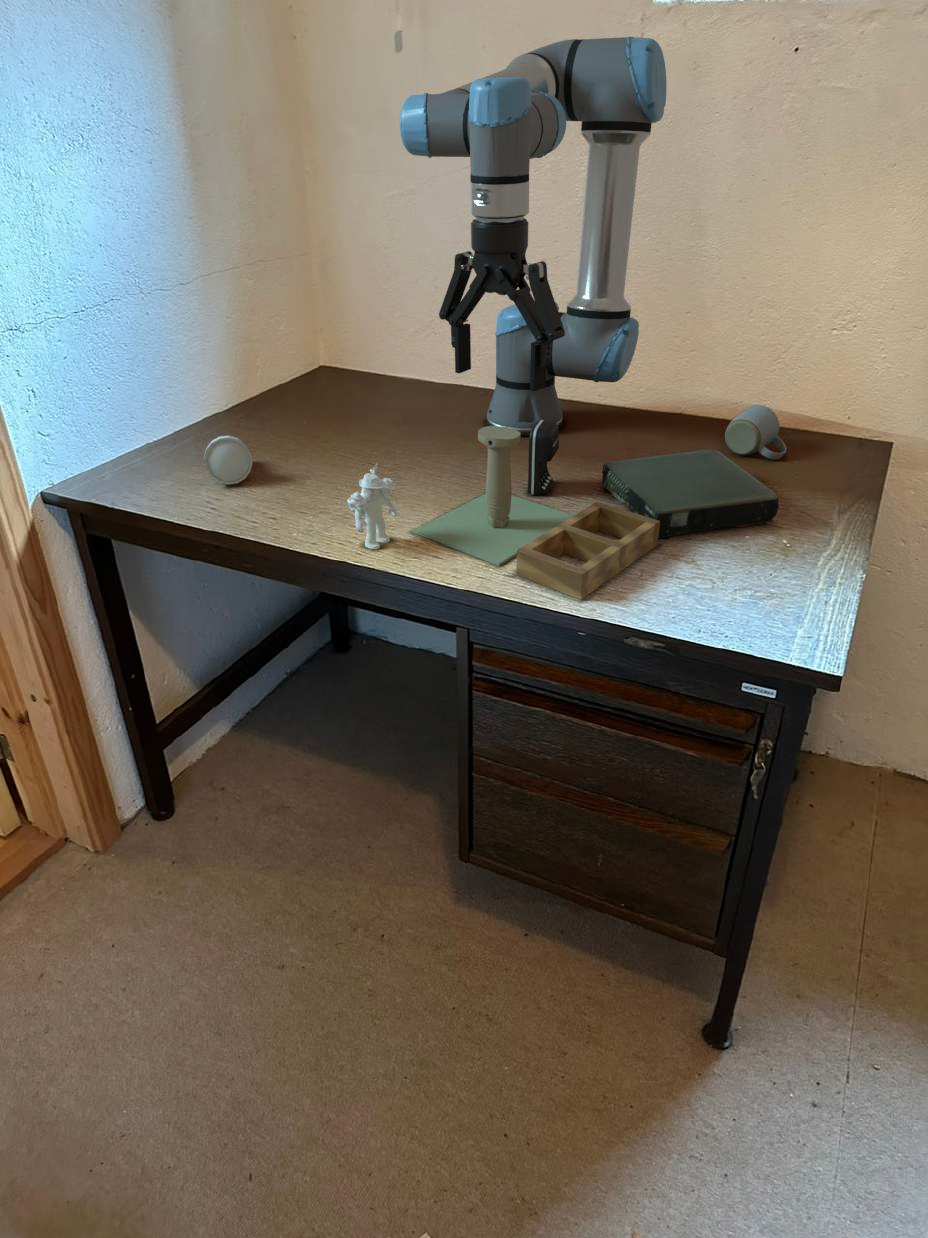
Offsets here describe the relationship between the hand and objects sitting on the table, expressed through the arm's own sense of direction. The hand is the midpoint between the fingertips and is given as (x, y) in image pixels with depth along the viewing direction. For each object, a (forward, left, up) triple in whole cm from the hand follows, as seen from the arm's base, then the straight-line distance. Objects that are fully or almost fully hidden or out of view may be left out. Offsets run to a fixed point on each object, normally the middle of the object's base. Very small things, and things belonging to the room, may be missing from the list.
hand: (499, 379), depth 123 cm
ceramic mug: (-53, +19, -23) cm, 61 cm away
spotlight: (+15, -49, -23) cm, 56 cm away
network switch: (-24, +20, -23) cm, 39 cm away
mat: (+1, 0, -23) cm, 23 cm away
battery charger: (-15, -2, -23) cm, 28 cm away
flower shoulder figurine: (+17, -10, -23) cm, 30 cm away
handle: (+1, +1, -23) cm, 23 cm away
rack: (+1, +18, -23) cm, 29 cm away
